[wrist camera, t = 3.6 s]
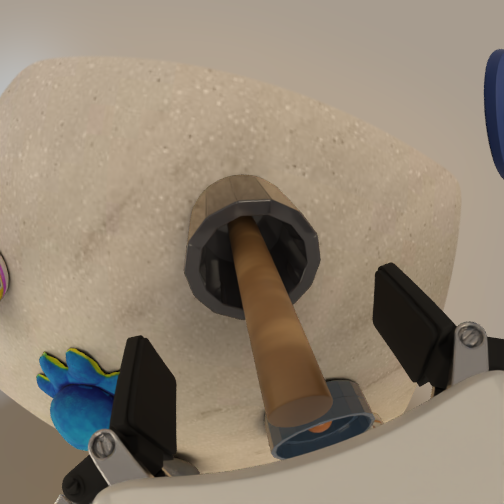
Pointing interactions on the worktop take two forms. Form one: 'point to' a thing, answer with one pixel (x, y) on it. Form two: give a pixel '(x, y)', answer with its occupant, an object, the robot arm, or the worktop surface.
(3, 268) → the supplement bottle
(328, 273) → the worktop surface
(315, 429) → the bead
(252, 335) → the stick
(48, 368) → the plush toy
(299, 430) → the mixing bowl
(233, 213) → the holder
